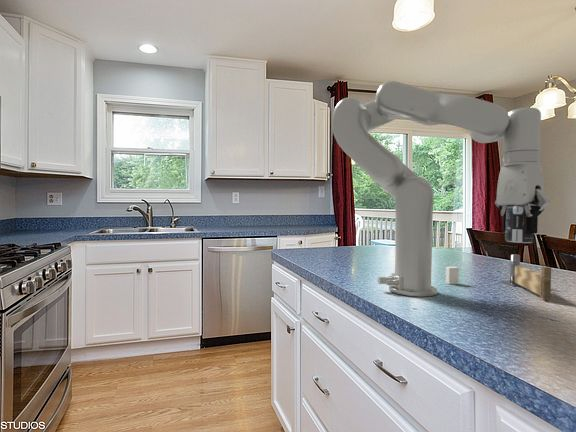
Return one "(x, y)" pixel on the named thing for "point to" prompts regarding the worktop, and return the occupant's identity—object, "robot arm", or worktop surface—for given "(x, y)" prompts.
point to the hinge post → (513, 270)
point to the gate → (535, 280)
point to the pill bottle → (516, 225)
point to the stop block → (452, 275)
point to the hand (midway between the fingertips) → (519, 231)
